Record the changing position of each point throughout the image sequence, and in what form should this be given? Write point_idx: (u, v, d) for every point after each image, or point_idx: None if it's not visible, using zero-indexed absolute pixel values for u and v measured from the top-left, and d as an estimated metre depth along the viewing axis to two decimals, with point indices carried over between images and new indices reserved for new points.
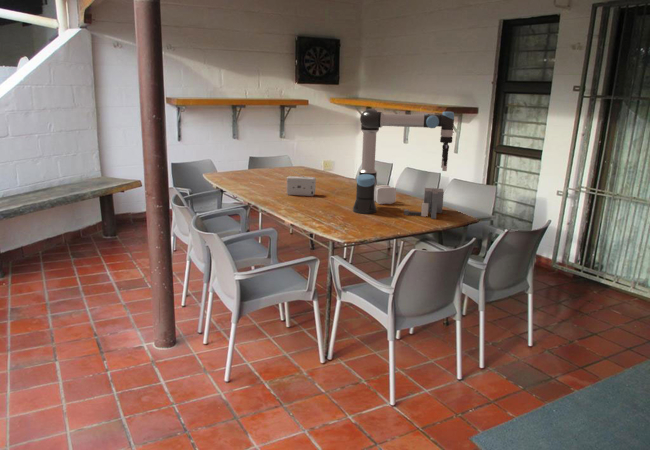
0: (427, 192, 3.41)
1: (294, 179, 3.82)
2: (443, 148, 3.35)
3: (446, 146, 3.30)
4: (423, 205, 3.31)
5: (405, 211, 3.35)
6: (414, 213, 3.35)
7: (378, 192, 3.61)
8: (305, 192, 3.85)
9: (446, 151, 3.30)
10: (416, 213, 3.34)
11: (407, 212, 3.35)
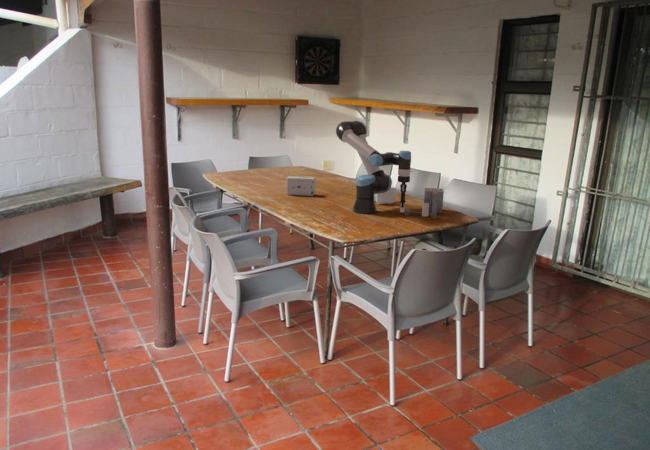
0: (427, 192, 3.41)
1: (294, 179, 3.82)
2: None
3: (403, 190, 3.27)
4: (424, 205, 3.31)
5: (406, 211, 3.35)
6: (415, 213, 3.35)
7: None
8: (305, 192, 3.85)
9: (403, 194, 3.29)
10: (417, 213, 3.34)
11: (408, 212, 3.35)
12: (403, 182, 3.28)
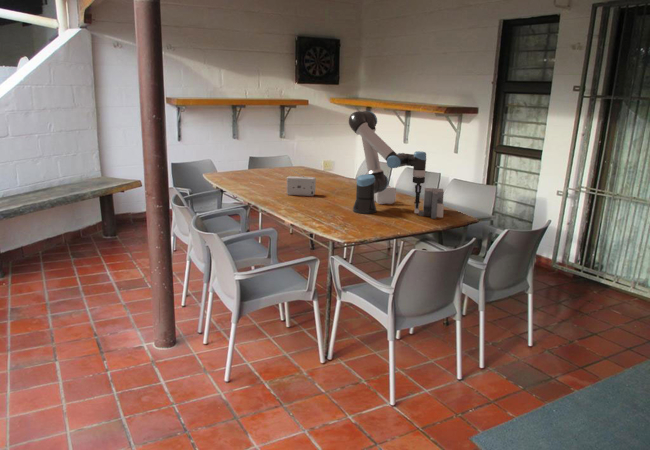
0: (427, 192, 3.41)
1: (294, 179, 3.82)
2: (415, 189, 3.30)
3: (418, 191, 3.26)
4: (438, 206, 3.30)
5: (420, 212, 3.34)
6: (429, 214, 3.33)
7: (378, 192, 3.61)
8: (305, 192, 3.85)
9: (418, 195, 3.27)
10: None
11: (422, 213, 3.33)
12: (418, 183, 3.27)
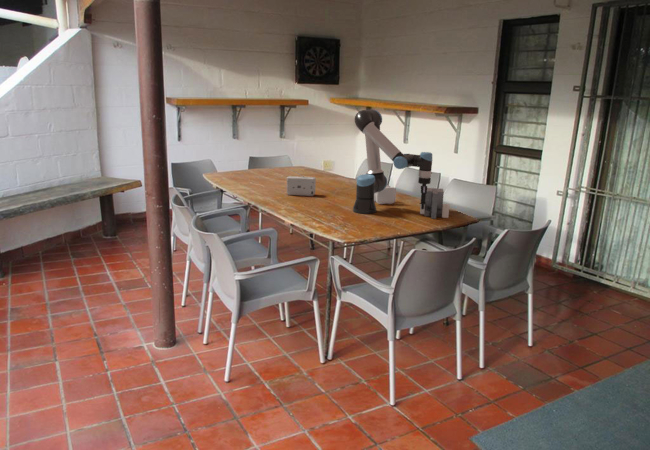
0: (427, 192, 3.41)
1: (294, 179, 3.82)
2: (421, 190, 3.29)
3: (424, 191, 3.25)
4: (444, 206, 3.30)
5: (426, 212, 3.33)
6: None
7: (378, 192, 3.61)
8: (305, 192, 3.85)
9: (423, 196, 3.27)
10: (437, 214, 3.33)
11: (428, 213, 3.33)
12: (424, 184, 3.26)
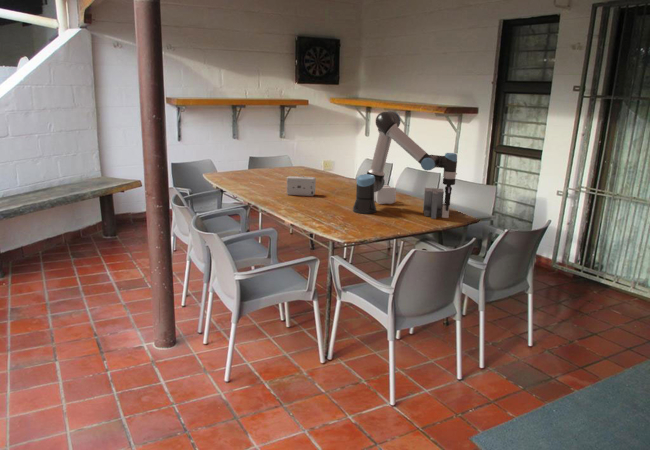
0: (427, 192, 3.41)
1: (294, 179, 3.82)
2: (446, 191, 3.27)
3: (448, 191, 3.22)
4: (444, 206, 3.30)
5: (426, 212, 3.33)
6: None
7: (378, 192, 3.61)
8: (305, 192, 3.85)
9: (448, 196, 3.24)
10: (437, 214, 3.33)
11: (428, 213, 3.33)
12: None
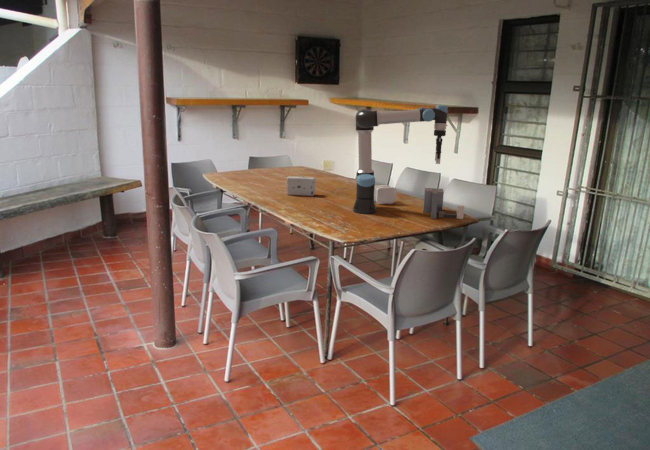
0: (427, 192, 3.41)
1: (294, 179, 3.82)
2: (437, 141, 3.39)
3: (439, 139, 3.34)
4: (459, 207, 3.28)
5: (440, 213, 3.32)
6: (449, 215, 3.31)
7: (378, 192, 3.61)
8: (305, 192, 3.85)
9: (439, 144, 3.34)
10: (451, 215, 3.31)
11: (442, 214, 3.31)
12: None
